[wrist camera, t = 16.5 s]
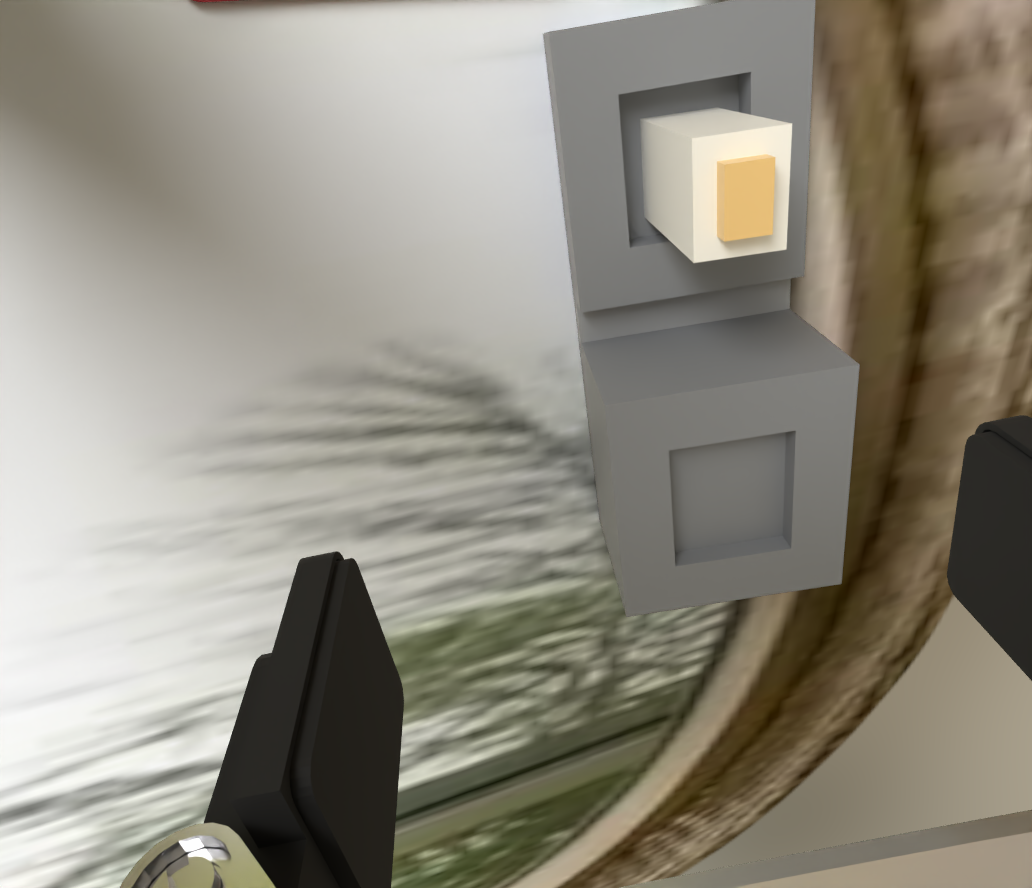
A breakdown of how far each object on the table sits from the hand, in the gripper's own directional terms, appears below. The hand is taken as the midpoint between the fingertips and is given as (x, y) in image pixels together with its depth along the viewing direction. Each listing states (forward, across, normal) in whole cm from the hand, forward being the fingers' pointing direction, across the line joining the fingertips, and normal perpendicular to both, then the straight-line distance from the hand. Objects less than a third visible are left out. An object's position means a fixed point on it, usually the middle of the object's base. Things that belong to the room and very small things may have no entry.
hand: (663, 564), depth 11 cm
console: (+24, -7, +5) cm, 26 cm away
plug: (+24, -7, -1) cm, 25 cm away
